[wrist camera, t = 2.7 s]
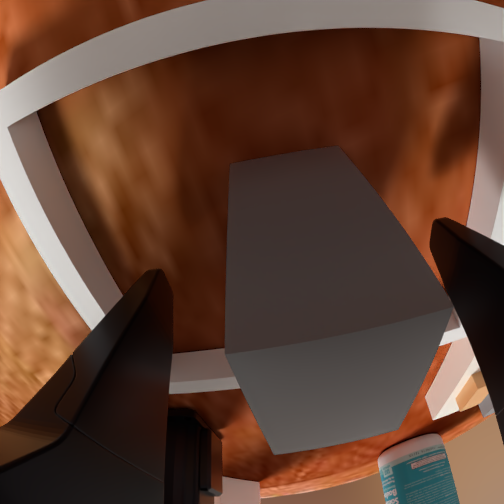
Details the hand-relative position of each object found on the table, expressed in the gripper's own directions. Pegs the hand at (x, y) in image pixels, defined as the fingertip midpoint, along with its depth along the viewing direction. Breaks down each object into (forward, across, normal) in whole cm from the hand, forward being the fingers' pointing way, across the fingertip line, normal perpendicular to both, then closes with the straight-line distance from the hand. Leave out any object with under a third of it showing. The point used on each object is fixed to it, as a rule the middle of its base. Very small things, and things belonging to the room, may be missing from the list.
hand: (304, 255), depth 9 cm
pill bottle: (+2, -10, +30) cm, 32 cm away
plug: (+2, 0, 0) cm, 2 cm away
